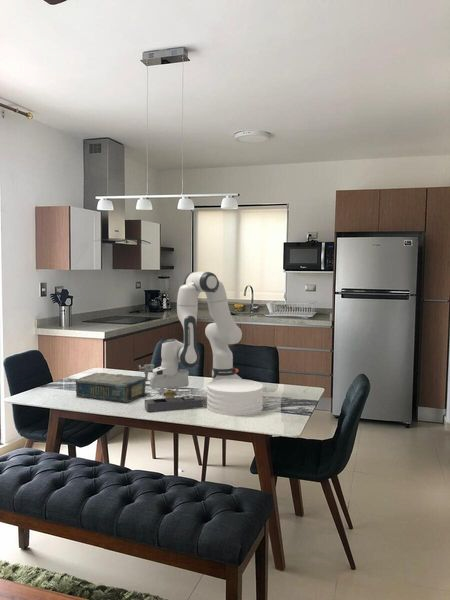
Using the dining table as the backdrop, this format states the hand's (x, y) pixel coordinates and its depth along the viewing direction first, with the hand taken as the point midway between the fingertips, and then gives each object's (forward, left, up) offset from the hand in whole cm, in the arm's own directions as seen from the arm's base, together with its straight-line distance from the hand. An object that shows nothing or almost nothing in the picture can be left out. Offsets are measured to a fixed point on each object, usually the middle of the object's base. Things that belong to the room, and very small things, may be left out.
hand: (169, 395), depth 257 cm
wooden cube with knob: (0, 0, -2) cm, 2 cm away
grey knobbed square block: (-6, +15, -2) cm, 16 cm away
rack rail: (+1, +15, -2) cm, 15 cm away
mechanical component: (+4, -47, -2) cm, 47 cm away
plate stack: (-28, +23, -2) cm, 37 cm away
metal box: (+28, -18, -3) cm, 33 cm away
